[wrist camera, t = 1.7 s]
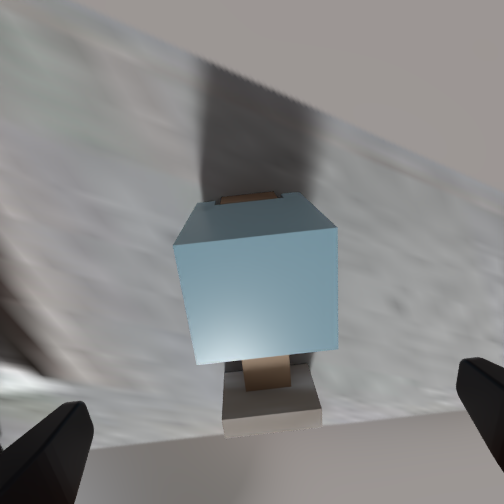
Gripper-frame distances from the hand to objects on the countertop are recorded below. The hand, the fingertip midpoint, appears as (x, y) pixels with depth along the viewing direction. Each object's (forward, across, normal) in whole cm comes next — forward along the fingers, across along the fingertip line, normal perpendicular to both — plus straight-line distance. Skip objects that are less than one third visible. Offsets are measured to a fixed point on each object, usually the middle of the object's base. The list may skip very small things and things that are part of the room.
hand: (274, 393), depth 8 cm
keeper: (+12, 0, 0) cm, 12 cm away
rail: (+12, 0, +4) cm, 13 cm away
